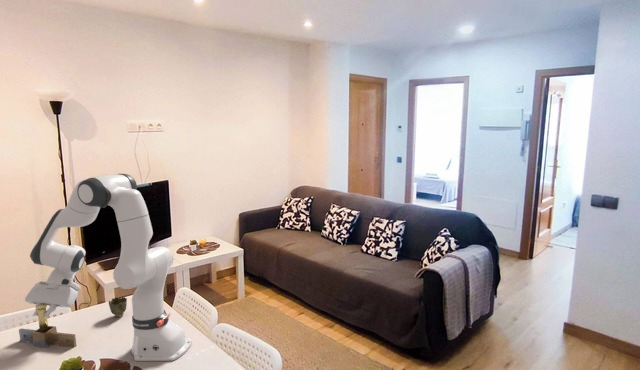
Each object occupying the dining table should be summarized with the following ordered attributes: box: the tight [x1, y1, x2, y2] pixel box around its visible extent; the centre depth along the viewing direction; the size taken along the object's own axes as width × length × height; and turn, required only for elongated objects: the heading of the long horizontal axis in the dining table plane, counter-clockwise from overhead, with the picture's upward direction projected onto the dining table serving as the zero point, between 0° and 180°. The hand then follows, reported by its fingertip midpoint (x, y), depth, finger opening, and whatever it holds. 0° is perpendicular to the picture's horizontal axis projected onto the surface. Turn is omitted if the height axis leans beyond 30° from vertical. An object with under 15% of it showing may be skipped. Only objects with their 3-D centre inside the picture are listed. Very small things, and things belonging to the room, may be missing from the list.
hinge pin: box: [35, 303, 49, 331], centre depth 154 cm, size 4×4×10 cm
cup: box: [108, 296, 128, 319], centre depth 177 cm, size 8×7×8 cm
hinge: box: [18, 325, 77, 349], centre depth 155 cm, size 26×6×6 cm, turn 80°
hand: (40, 315), depth 153 cm, fingers closed on hinge pin, 3 cm apart
